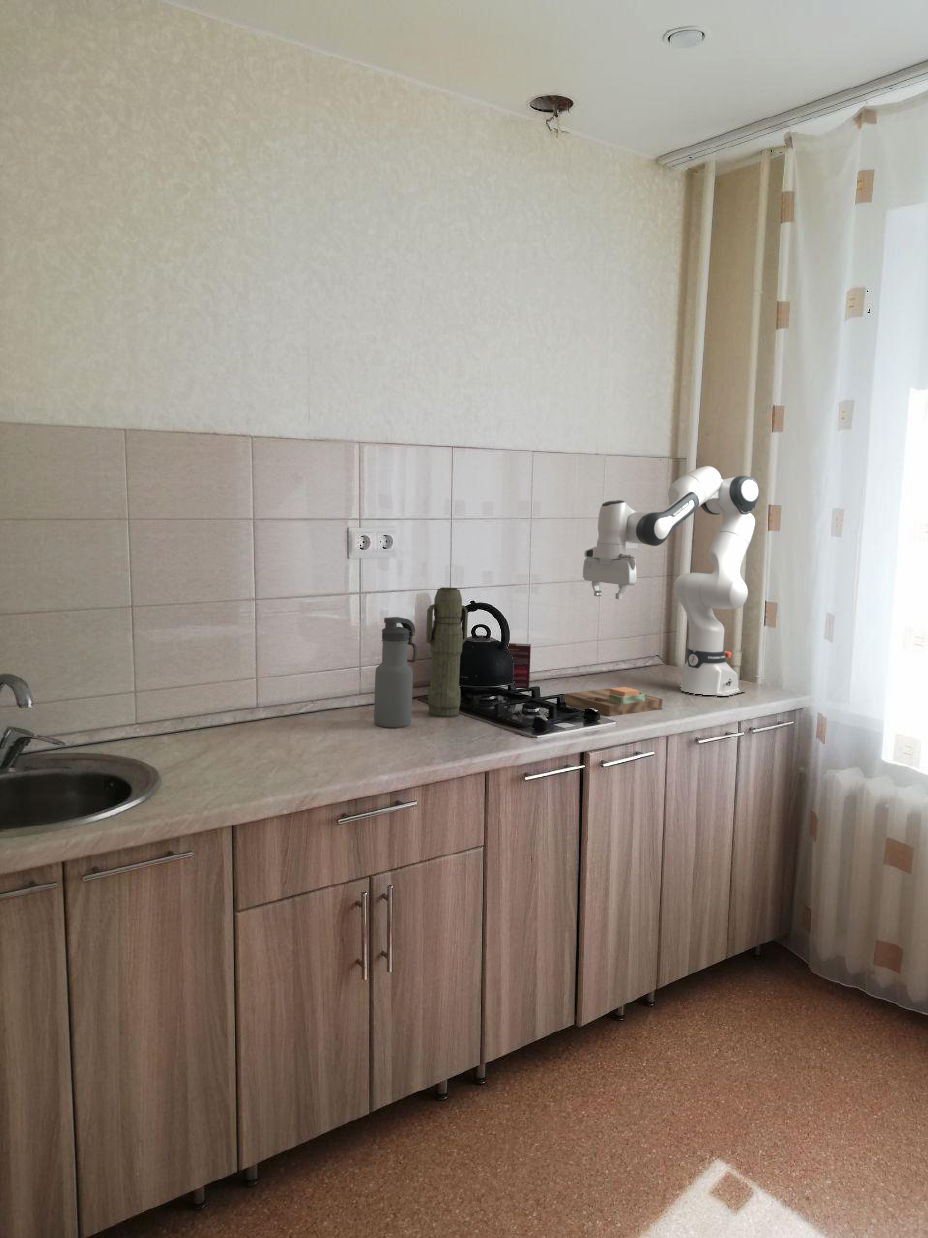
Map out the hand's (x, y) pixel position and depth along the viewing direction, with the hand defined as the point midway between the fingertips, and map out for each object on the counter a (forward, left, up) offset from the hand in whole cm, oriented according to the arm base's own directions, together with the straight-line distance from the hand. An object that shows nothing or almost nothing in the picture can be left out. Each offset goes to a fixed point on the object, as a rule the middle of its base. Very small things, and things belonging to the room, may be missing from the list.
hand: (608, 597), depth 287 cm
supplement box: (+24, -14, -31) cm, 42 cm away
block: (+9, +18, -28) cm, 35 cm away
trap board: (+8, +12, -31) cm, 34 cm away
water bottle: (+79, +3, -31) cm, 85 cm away
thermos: (+60, -1, -31) cm, 68 cm away
